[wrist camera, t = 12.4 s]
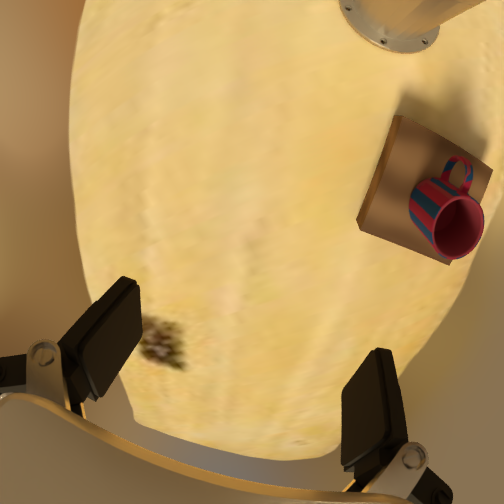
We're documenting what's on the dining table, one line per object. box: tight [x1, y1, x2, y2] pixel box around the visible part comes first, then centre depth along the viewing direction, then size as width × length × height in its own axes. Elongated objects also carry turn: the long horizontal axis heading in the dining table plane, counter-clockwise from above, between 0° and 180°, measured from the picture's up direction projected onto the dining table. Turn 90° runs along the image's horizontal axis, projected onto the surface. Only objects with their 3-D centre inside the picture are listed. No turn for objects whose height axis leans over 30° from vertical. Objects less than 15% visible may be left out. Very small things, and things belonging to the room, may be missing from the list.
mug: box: [409, 155, 484, 260], centre depth 23 cm, size 7×10×7 cm
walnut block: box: [356, 116, 493, 265], centre depth 28 cm, size 14×14×4 cm
